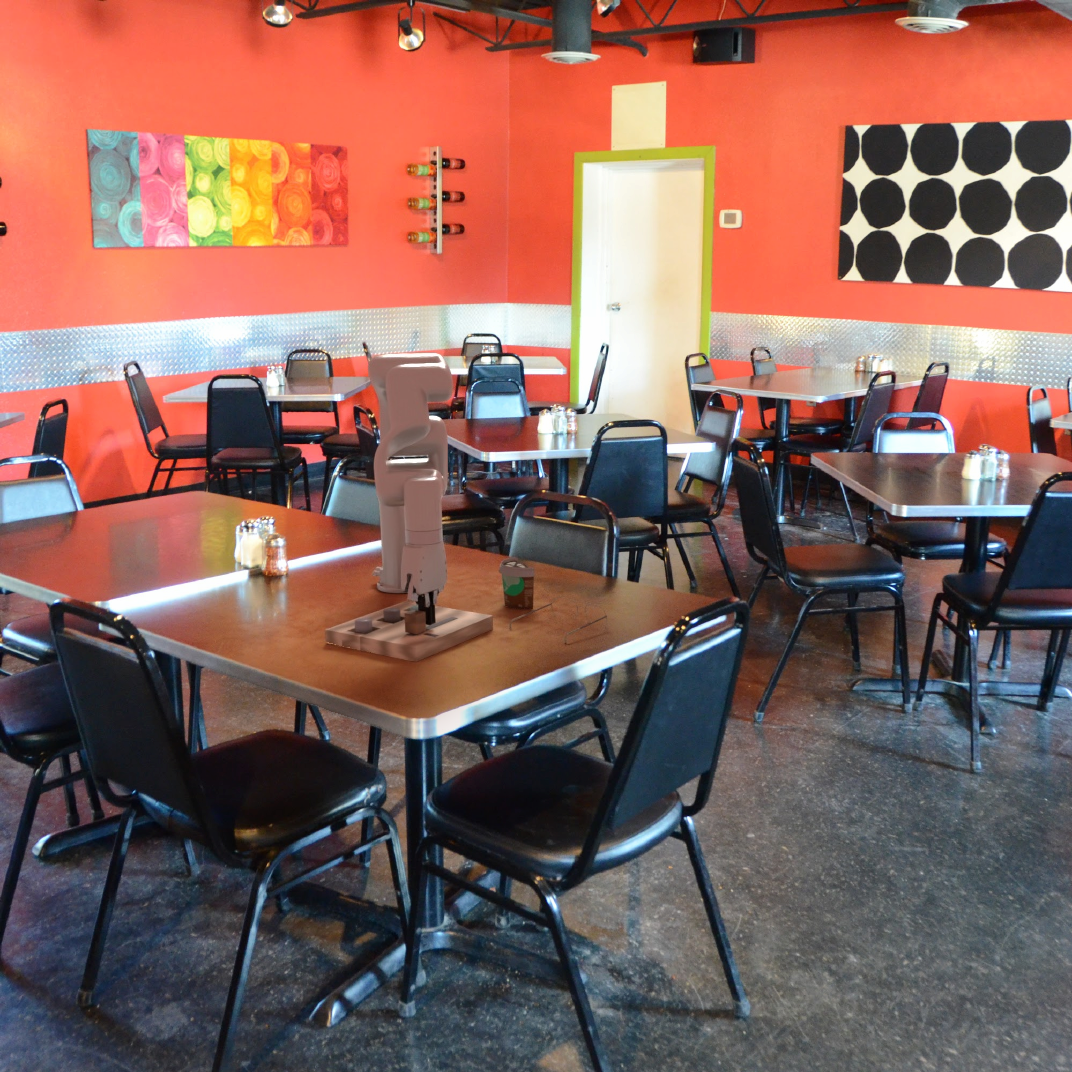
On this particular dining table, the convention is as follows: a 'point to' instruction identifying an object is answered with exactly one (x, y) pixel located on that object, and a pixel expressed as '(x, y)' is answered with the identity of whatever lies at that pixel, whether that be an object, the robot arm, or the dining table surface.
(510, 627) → the eyeglasses
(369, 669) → the dining table surface
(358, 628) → the slate button
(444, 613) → the control panel
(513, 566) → the food container
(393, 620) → the charcoal button
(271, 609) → the dining table surface
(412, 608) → the teal button
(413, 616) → the walnut slider
